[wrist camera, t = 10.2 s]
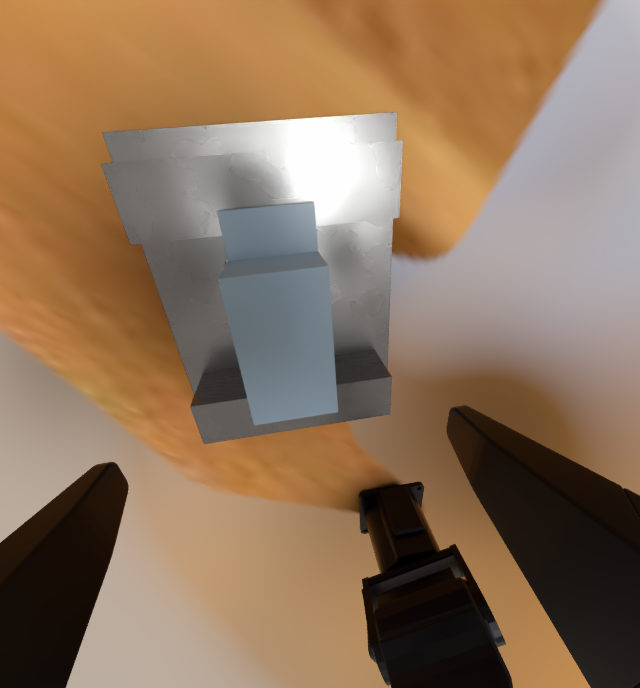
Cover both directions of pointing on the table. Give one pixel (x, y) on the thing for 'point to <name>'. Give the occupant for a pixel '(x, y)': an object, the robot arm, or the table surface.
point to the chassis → (256, 191)
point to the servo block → (279, 310)
